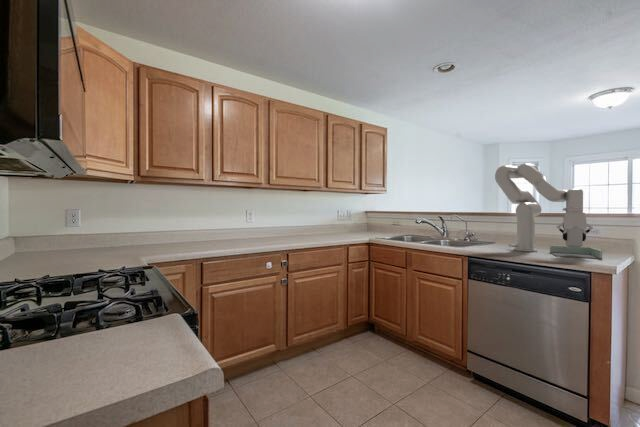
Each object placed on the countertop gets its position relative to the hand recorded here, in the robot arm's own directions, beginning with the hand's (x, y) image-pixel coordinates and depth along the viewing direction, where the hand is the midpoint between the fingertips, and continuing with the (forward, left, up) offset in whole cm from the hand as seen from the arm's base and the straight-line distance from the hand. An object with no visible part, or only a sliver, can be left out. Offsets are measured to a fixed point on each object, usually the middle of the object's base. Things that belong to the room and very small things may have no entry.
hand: (574, 240), depth 172 cm
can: (0, 0, -4) cm, 4 cm away
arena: (0, +1, -9) cm, 9 cm away
